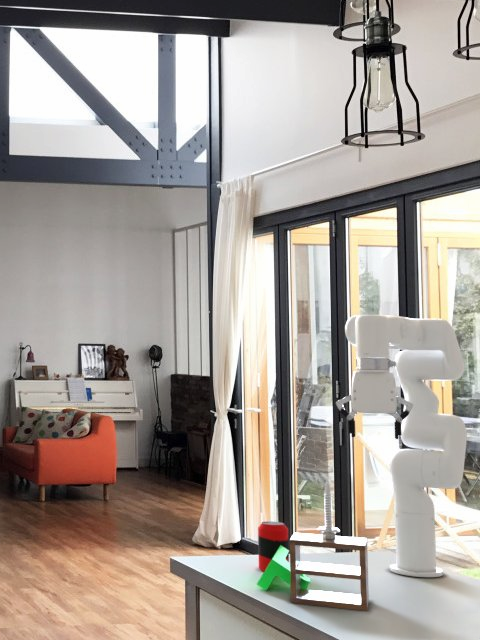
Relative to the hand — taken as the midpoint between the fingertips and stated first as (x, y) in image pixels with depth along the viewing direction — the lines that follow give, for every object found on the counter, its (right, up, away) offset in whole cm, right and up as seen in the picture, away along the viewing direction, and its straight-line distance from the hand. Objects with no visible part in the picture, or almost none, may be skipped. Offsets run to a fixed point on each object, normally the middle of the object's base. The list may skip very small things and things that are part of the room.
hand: (375, 437), depth 242 cm
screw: (-15, -21, -11) cm, 28 cm away
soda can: (-18, -39, +21) cm, 48 cm away
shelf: (-15, -35, -13) cm, 40 cm away
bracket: (-19, -37, +5) cm, 42 cm away
